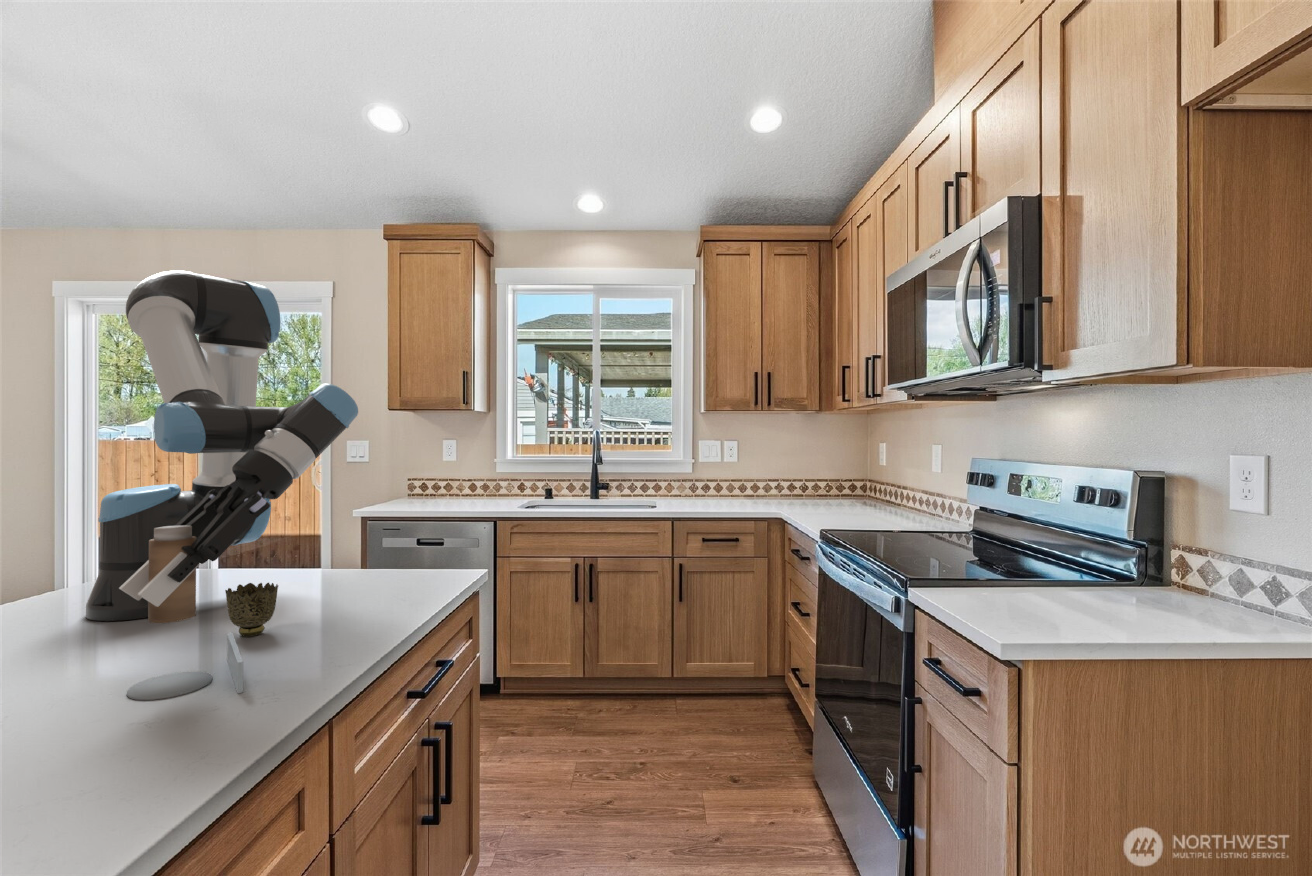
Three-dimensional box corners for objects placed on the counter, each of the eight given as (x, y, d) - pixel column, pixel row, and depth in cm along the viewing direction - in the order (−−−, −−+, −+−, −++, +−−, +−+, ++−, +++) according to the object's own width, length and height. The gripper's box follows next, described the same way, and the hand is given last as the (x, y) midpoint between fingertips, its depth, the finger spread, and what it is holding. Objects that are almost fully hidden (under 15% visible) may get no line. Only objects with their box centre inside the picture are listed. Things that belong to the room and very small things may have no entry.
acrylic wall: (227, 660, 93) (227, 633, 93) (231, 659, 93) (232, 632, 93) (237, 693, 81) (237, 662, 81) (242, 692, 82) (243, 661, 82)
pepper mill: (148, 616, 84) (149, 526, 84) (194, 610, 87) (195, 523, 87) (148, 625, 80) (148, 531, 80) (196, 618, 83) (197, 528, 83)
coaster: (128, 683, 84) (128, 681, 84) (210, 668, 90) (210, 666, 90) (125, 706, 77) (125, 703, 77) (214, 688, 83) (214, 686, 83)
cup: (251, 643, 101) (252, 593, 101) (213, 639, 102) (214, 590, 102) (287, 629, 108) (288, 583, 108) (251, 626, 109) (252, 580, 109)
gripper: (224, 446, 97) (84, 572, 82) (288, 448, 87) (142, 590, 73) (260, 479, 101) (133, 603, 87) (324, 484, 92) (194, 624, 78)
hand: (138, 597), depth 80 cm, fingers closed on pepper mill, 5 cm apart
